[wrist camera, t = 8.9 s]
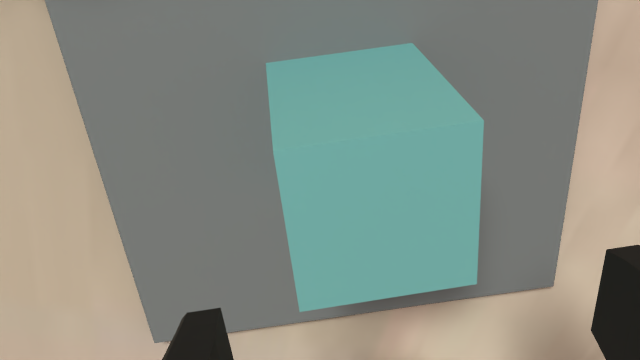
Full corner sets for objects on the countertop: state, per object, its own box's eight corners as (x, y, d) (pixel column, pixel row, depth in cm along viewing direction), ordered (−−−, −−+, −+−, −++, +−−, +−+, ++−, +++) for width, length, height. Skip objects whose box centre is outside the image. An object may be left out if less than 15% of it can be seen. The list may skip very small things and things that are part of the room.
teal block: (412, 42, 17) (483, 120, 12) (415, 171, 19) (476, 283, 14) (265, 63, 17) (272, 151, 12) (285, 190, 19) (299, 311, 14)
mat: (615, -183, 15) (627, -184, 15) (547, 278, 23) (553, 286, 23) (12, -124, 14) (5, -124, 14) (156, 333, 22) (154, 342, 22)
